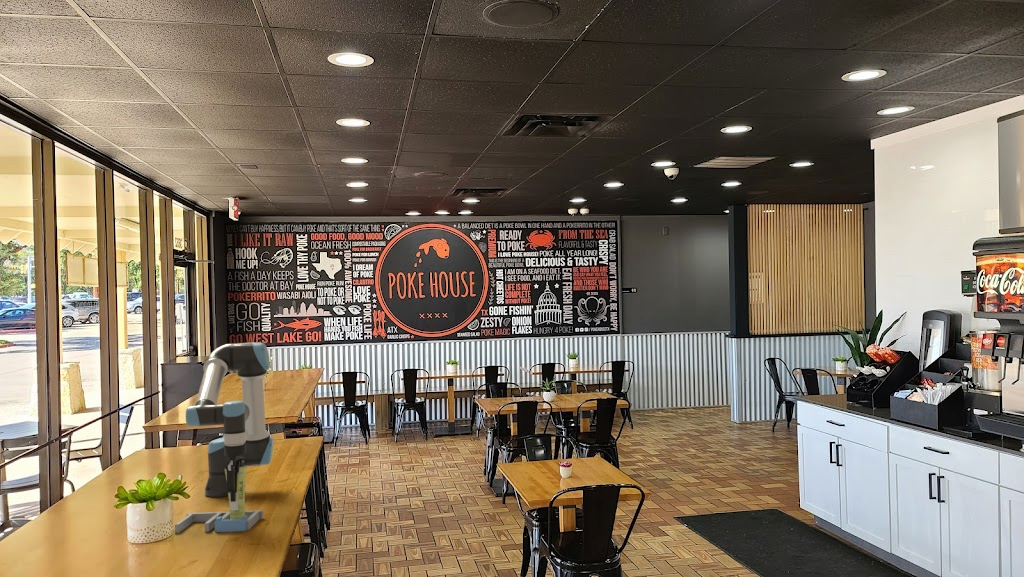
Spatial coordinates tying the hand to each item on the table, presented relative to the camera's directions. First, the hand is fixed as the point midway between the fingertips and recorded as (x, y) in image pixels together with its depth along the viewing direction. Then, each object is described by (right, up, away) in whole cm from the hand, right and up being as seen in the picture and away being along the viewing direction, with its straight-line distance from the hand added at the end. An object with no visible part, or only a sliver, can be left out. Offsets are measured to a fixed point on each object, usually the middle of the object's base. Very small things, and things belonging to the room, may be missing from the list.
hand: (236, 507), depth 272 cm
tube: (0, -5, 0) cm, 5 cm away
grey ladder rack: (-7, -7, +1) cm, 10 cm away
